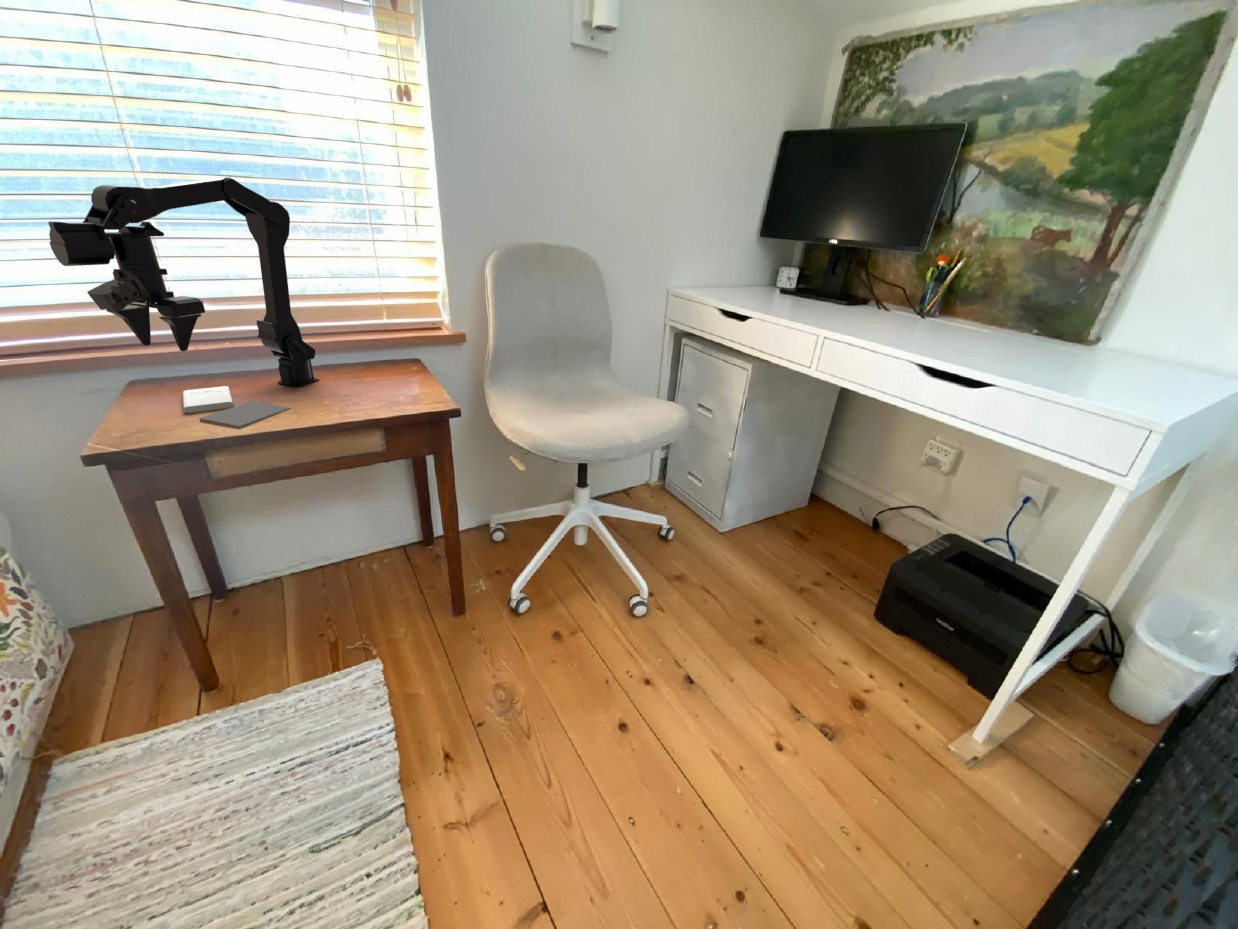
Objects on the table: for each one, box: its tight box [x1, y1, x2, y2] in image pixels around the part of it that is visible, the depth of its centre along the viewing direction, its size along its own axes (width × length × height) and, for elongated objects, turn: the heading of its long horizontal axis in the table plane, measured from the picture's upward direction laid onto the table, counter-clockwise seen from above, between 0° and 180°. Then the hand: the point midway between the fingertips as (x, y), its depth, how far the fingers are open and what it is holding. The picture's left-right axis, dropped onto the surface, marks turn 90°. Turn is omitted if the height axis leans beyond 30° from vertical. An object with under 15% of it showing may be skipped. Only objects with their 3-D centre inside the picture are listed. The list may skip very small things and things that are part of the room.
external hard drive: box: [182, 385, 235, 415], centre depth 114 cm, size 2×8×12 cm
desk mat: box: [199, 400, 291, 430], centre depth 109 cm, size 12×10×1 cm
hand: (165, 348), depth 103 cm, fingers open, 9 cm apart
